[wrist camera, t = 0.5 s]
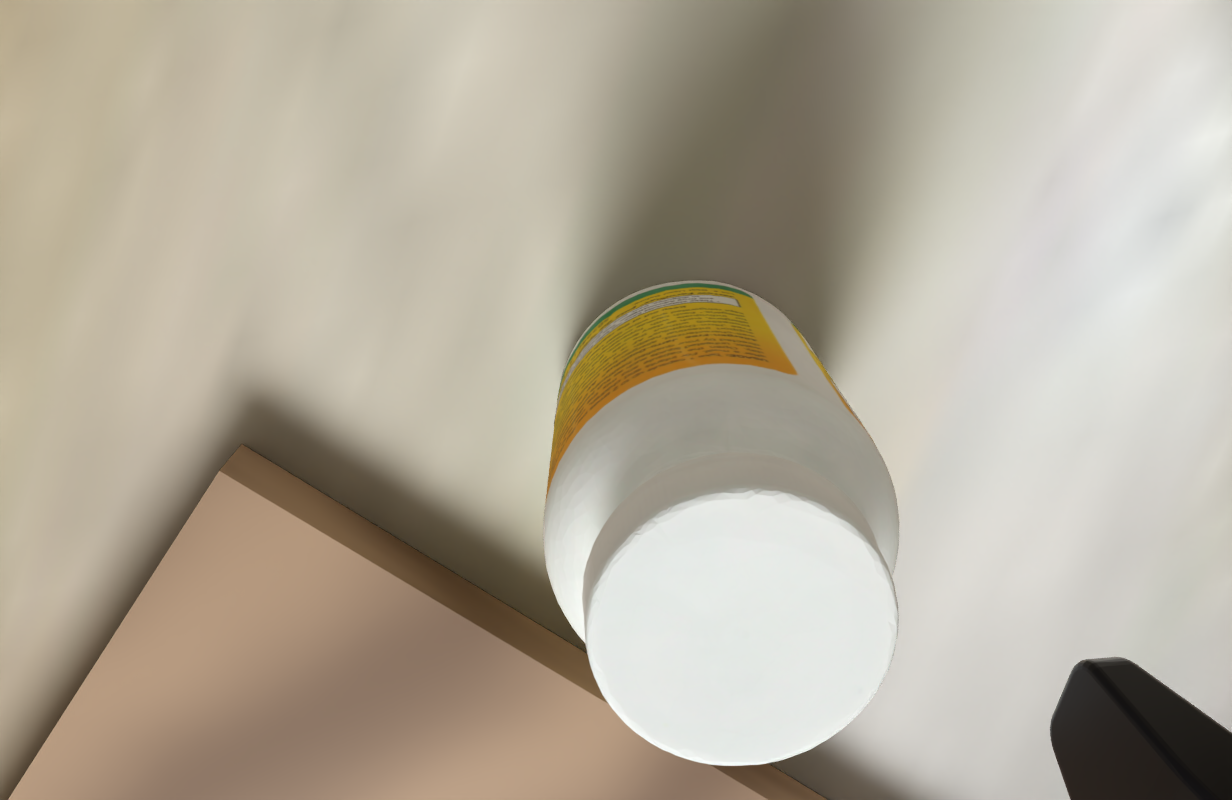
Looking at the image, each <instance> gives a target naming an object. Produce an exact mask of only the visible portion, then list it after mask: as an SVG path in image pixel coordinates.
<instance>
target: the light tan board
mask: <svg viewBox="0 0 1232 800" xmlns="http://www.w3.org/2000/svg"><path fill="white" fill-rule="evenodd" d="M8 800H827V799H826V798H824V797H822V796H821V795H819V794H817V793H816V792H814V791H813V790H811V789H809V788H808V787H806V786H804V785H803V784H801V783H799V782H798V781H796V780H794V779H793V778H791V777H789V776H788V775H786V774H785V773H783V772H781V771H780V770H778V769H776V768H775V767H773V766H771V765H770V764H768V763H767V764H760V765H743V766H722V765H711V764H705V763H699V762H695V761H692V760H688V759H685V758H682V757H679V756H676V755H674V754H672V753H670V752H667V751H664V750H662V749H660V748H658V747H657V746H655V745H653V744H651V743H650V742H648V741H647V740H645V739H644V738H643V737H641V736H640V735H638V734H637V733H635V732H634V731H633V730H632V729H631V728H630V727H629V726H627V725H626V724H625V723H624V722H623V720H622V719H621V718H620V717H619V716H618V715H617V714H616V713H615V711H614V710H613V709H612V708H611V706H610V705H609V703H608V702H607V701H606V699H605V698H604V696H603V695H602V693H601V690H600V688H599V686H598V684H597V682H596V680H595V678H594V675H593V672H592V669H591V666H590V662H589V658H588V654H587V653H585V652H584V651H582V650H580V649H579V648H577V647H575V646H574V645H572V644H570V643H569V642H567V641H565V640H564V639H562V638H560V637H559V636H557V635H556V634H554V633H552V632H551V631H549V630H547V629H546V628H544V627H542V626H541V625H539V624H537V623H536V622H534V621H532V620H531V619H529V618H528V617H526V616H524V615H523V614H521V613H519V612H518V611H516V610H514V609H513V608H511V607H509V606H508V605H506V604H504V603H503V602H501V601H500V600H498V599H496V598H495V597H493V596H491V595H490V594H488V593H486V592H485V591H483V590H481V589H480V588H478V587H476V586H475V585H473V584H472V583H470V582H468V581H467V580H465V579H463V578H462V577H460V576H458V575H457V574H455V573H453V572H452V571H450V570H448V569H447V568H445V567H444V566H442V565H440V564H439V563H437V562H435V561H434V560H432V559H430V558H429V557H427V556H425V555H424V554H422V553H420V552H419V551H417V550H416V549H414V548H412V547H411V546H409V545H407V544H406V543H404V542H402V541H401V540H399V539H397V538H396V537H394V536H392V535H391V534H389V533H388V532H386V531H384V530H383V529H381V528H379V527H378V526H376V525H374V524H373V523H371V522H369V521H368V520H366V519H364V518H363V517H361V516H360V515H358V514H356V513H355V512H353V511H351V510H350V509H348V508H346V507H345V506H343V505H341V504H340V503H338V502H336V501H335V500H333V499H332V498H330V497H328V496H327V495H325V494H323V493H322V492H320V491H318V490H317V489H315V488H313V487H312V486H310V485H308V484H307V483H305V482H304V481H302V480H300V479H299V478H297V477H295V476H294V475H292V474H290V473H289V472H287V471H285V470H284V469H282V468H280V467H279V466H277V465H276V464H274V463H272V462H271V461H269V460H267V459H266V458H264V457H262V456H261V455H259V454H257V453H256V452H254V451H252V450H251V449H249V448H247V447H246V446H244V445H243V444H241V445H240V447H239V448H238V449H237V450H236V451H235V453H234V454H233V455H232V456H231V457H230V459H229V460H228V461H227V462H226V463H225V464H224V466H223V467H222V468H221V469H220V470H219V472H218V473H217V475H216V476H215V478H214V480H213V481H212V483H211V484H210V486H209V487H208V489H207V490H206V492H205V494H204V495H203V497H202V498H201V500H200V501H199V503H198V504H197V506H196V508H195V509H194V511H193V512H192V514H191V515H190V517H189V519H188V520H187V522H186V523H185V525H184V526H183V528H182V529H181V531H180V533H179V534H178V536H177V537H176V539H175V540H174V542H173V543H172V545H171V547H170V548H169V550H168V551H167V553H166V554H165V556H164V557H163V559H162V561H161V562H160V564H159V565H158V567H157V568H156V570H155V571H154V573H153V575H152V576H151V578H150V579H149V581H148V582H147V584H146V585H145V587H144V589H143V590H142V592H141V593H140V595H139V596H138V598H137V599H136V601H135V603H134V604H133V606H132V607H131V609H130V610H129V612H128V613H127V615H126V617H125V618H124V620H123V621H122V623H121V624H120V626H119V627H118V629H117V631H116V632H115V634H114V635H113V637H112V638H111V640H110V641H109V643H108V645H107V646H106V648H105V649H104V651H103V652H102V654H101V656H100V657H99V659H98V660H97V662H96V663H95V665H94V666H93V668H92V670H91V671H90V673H89V674H88V676H87V677H86V679H85V680H84V682H83V684H82V685H81V687H80V688H79V690H78V691H77V693H76V694H75V696H74V698H73V699H72V701H71V702H70V704H69V705H68V707H67V708H66V710H65V712H64V713H63V715H62V716H61V718H60V719H59V721H58V722H57V724H56V726H55V727H54V729H53V730H52V732H51V733H50V735H49V736H48V738H47V740H46V741H45V743H44V744H43V746H42V747H41V749H40V750H39V752H38V754H37V755H36V757H35V758H34V760H33V761H32V763H31V764H30V766H29V768H28V769H27V771H26V772H25V774H24V775H23V777H22V778H21V780H20V782H19V783H18V785H17V786H16V788H15V789H14V791H13V793H12V794H11V796H10V797H9V799H8Z"/></svg>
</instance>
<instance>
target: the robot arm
mask: <svg viewBox="0 0 1232 800" xmlns="http://www.w3.org/2000/svg"><path fill="white" fill-rule="evenodd" d="M1050 736H1051V742H1052V746H1053V750H1054V753H1055V756H1056V759H1057V762H1058V764H1059V767H1060V770H1061V773H1062V776H1063V779H1064V782H1065V785H1066V788H1067V791H1068V793H1069V796H1070V799H1071V800H1232V733H1231V732H1230V731H1228V730H1227V729H1226V728H1224V727H1223V726H1221V725H1220V724H1219V723H1217V722H1216V721H1214V720H1213V719H1212V718H1210V717H1209V716H1208V715H1206V714H1205V713H1203V712H1202V711H1201V710H1199V709H1198V708H1196V707H1195V706H1194V705H1192V704H1191V703H1189V702H1188V701H1187V700H1185V699H1184V698H1182V697H1181V696H1180V695H1178V694H1177V693H1175V692H1174V691H1173V690H1171V689H1170V688H1169V687H1167V686H1166V685H1164V684H1163V683H1162V682H1160V681H1159V680H1157V679H1156V678H1155V677H1153V676H1152V675H1150V674H1149V673H1148V672H1146V671H1145V670H1143V669H1142V668H1141V667H1139V666H1138V665H1136V664H1135V663H1133V662H1132V661H1130V660H1127V659H1125V658H1121V657H1109V658H1098V659H1086V660H1082V661H1080V662H1079V663H1078V664H1076V665H1075V666H1074V668H1073V670H1072V671H1071V674H1070V676H1069V678H1068V681H1067V683H1066V685H1065V688H1064V690H1063V692H1062V695H1061V697H1060V699H1059V702H1058V704H1057V707H1056V709H1055V711H1054V714H1053V716H1052V719H1051V726H1050Z"/></svg>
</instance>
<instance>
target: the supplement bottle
mask: <svg viewBox="0 0 1232 800" xmlns="http://www.w3.org/2000/svg"><path fill="white" fill-rule="evenodd" d="M543 541H544V553H545V562H546V568H547V572H548V576H549V580H550V583H551V586H552V588H553V591H554V594H555V596H556V599H557V601H558V603H559V605H560V607H561V609H562V611H563V613H564V615H565V617H566V618H567V620H568V621H569V623H570V624H571V626H572V627H573V629H574V630H575V632H576V633H577V634H578V636H579V637H580V638H581V639H582V640H583V641H584V643H585V644H586V649H587V654H588V658H589V662H590V666H591V669H592V672H593V675H594V678H595V680H596V682H597V684H598V686H599V688H600V690H601V693H602V695H603V696H604V698H605V699H606V701H607V702H608V703H609V705H610V706H611V708H612V709H613V710H614V711H615V713H616V714H617V715H618V716H619V717H620V718H621V719H622V720H623V722H624V723H625V724H626V725H627V726H629V727H630V728H631V729H632V730H633V731H634V732H635V733H637V734H638V735H640V736H641V737H643V738H644V739H645V740H647V741H648V742H650V743H651V744H653V745H655V746H657V747H658V748H660V749H662V750H664V751H667V752H670V753H672V754H674V755H676V756H679V757H682V758H685V759H688V760H692V761H695V762H699V763H705V764H711V765H722V766H743V765H760V764H767V763H770V762H776V761H780V760H784V759H787V758H790V757H792V756H795V755H798V754H800V753H803V752H805V751H808V750H810V749H812V748H814V747H816V746H817V745H819V744H821V743H822V742H824V741H826V740H828V739H829V738H831V737H832V736H833V735H835V734H836V733H837V732H839V731H840V730H842V729H843V728H844V727H845V726H846V725H848V724H849V723H850V722H851V721H852V720H853V719H854V718H855V717H856V716H857V715H858V714H859V713H860V712H861V711H862V710H863V709H864V708H865V707H866V706H867V705H868V703H869V702H870V701H871V699H872V698H873V697H874V695H875V693H876V692H877V690H878V689H879V687H880V685H881V683H882V681H883V680H884V678H885V676H886V674H887V672H888V670H889V667H890V664H891V661H892V658H893V655H894V651H895V645H896V639H897V634H898V621H899V619H898V602H897V597H896V592H895V587H894V583H893V580H892V575H893V572H894V568H895V564H896V560H897V553H898V545H899V514H898V506H897V499H896V494H895V490H894V486H893V483H892V480H891V476H890V474H889V472H888V469H887V467H886V465H885V462H884V460H883V458H882V456H881V454H880V453H879V451H878V449H877V447H876V445H875V443H874V442H873V440H872V438H871V437H870V435H869V433H868V432H867V430H866V429H865V427H864V426H863V424H862V423H861V421H860V420H859V418H858V417H857V416H856V414H855V413H854V411H853V410H852V408H851V407H850V405H849V404H848V403H847V401H846V399H845V398H844V396H843V395H842V394H841V392H840V391H839V389H838V388H837V386H836V385H835V383H834V382H833V380H832V379H831V377H830V376H829V374H828V373H827V371H826V370H825V368H824V367H823V365H822V363H821V362H820V360H819V359H818V357H817V356H816V354H815V353H814V351H813V350H812V348H811V347H810V345H809V344H808V342H807V341H806V339H805V338H804V337H803V335H802V334H801V333H800V332H799V330H798V329H797V328H796V327H795V326H794V324H793V323H792V322H791V321H790V320H789V319H788V318H787V317H786V316H785V315H784V314H783V313H782V312H781V311H779V310H778V309H777V308H775V307H774V306H773V305H772V304H770V303H769V302H767V301H766V300H764V299H762V298H761V297H759V296H757V295H755V294H753V293H751V292H748V291H746V290H744V289H741V288H738V287H736V286H733V285H730V284H726V283H721V282H716V281H703V280H694V281H690V280H689V281H678V282H669V283H664V284H660V285H655V286H652V287H648V288H645V289H642V290H640V291H637V292H635V293H633V294H630V295H628V296H627V297H625V298H623V299H621V300H619V301H618V302H616V303H615V304H613V305H612V306H611V307H609V308H608V309H606V310H605V311H604V312H603V313H602V314H601V315H599V316H598V317H597V318H596V319H595V320H594V321H593V322H592V324H591V325H590V326H589V327H588V328H587V329H586V330H585V332H584V333H583V334H582V336H581V337H580V339H579V340H578V342H577V343H576V345H575V346H574V348H573V350H572V352H571V354H570V356H569V358H568V360H567V363H566V365H565V368H564V371H563V374H562V378H561V383H560V388H559V393H558V399H557V408H556V415H555V421H554V434H553V442H552V452H551V460H550V468H549V477H548V487H547V495H546V503H545V511H544V522H543Z"/></svg>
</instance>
